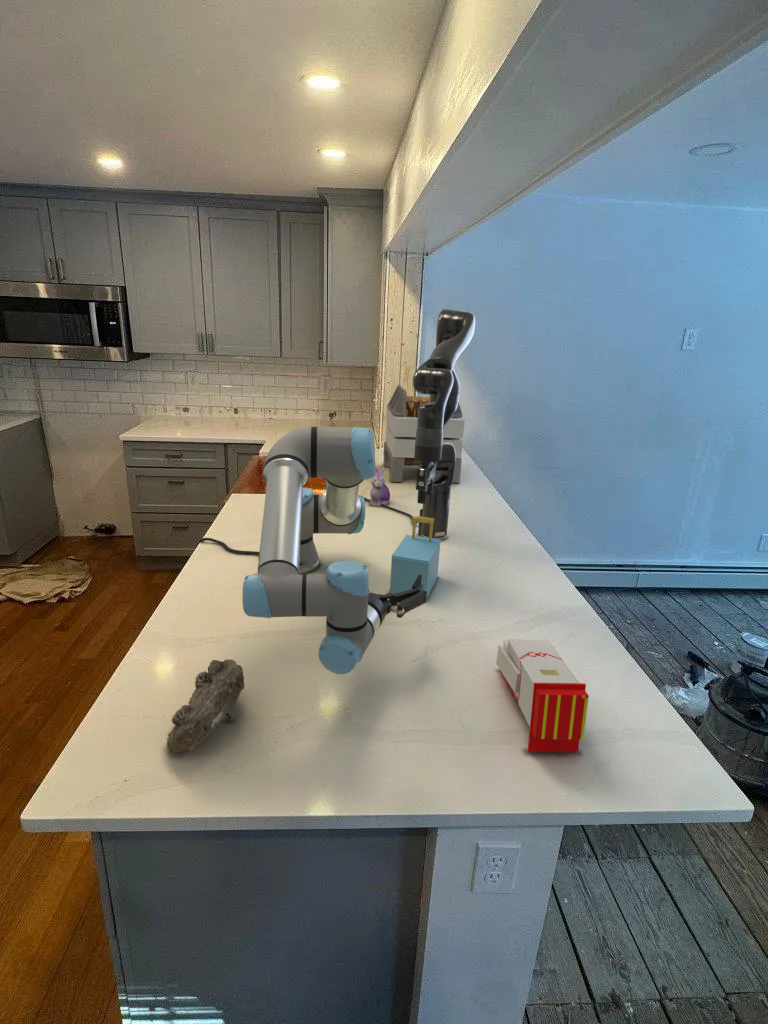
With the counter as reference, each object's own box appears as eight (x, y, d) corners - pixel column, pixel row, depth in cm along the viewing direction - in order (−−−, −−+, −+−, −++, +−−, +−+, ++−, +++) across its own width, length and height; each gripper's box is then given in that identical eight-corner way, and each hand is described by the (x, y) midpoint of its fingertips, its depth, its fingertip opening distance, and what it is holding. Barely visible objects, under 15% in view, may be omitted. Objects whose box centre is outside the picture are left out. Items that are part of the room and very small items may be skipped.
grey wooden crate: (382, 463, 289) (386, 382, 275) (445, 464, 293) (451, 384, 279) (390, 482, 257) (394, 392, 243) (460, 483, 261) (468, 394, 247)
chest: (403, 571, 172) (405, 538, 168) (437, 576, 169) (440, 544, 165) (389, 593, 158) (391, 558, 154) (426, 600, 155) (428, 565, 151)
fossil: (192, 660, 117) (244, 628, 112) (224, 691, 120) (276, 661, 115) (142, 746, 98) (202, 712, 93) (182, 779, 101) (242, 748, 96)
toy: (545, 622, 128) (598, 691, 98) (539, 677, 130) (589, 759, 101) (491, 621, 127) (529, 690, 98) (487, 676, 130) (522, 759, 101)
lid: (406, 537, 169) (408, 512, 166) (440, 543, 166) (442, 516, 163) (391, 558, 154) (393, 530, 151) (428, 564, 151) (431, 536, 149)
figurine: (374, 508, 224) (376, 471, 219) (363, 500, 232) (364, 464, 227) (395, 505, 228) (397, 469, 223) (384, 497, 237) (385, 462, 231)
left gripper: (306, 623, 119) (341, 581, 138) (422, 646, 112) (442, 598, 132) (306, 591, 116) (342, 552, 136) (424, 612, 110) (445, 569, 129)
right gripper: (437, 449, 148) (432, 508, 153) (447, 438, 160) (442, 493, 166) (409, 446, 149) (405, 504, 155) (421, 436, 162) (417, 490, 168)
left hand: (391, 575), depth 134 cm, fingers open, 13 cm apart
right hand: (424, 498), depth 160 cm, fingers open, 8 cm apart
